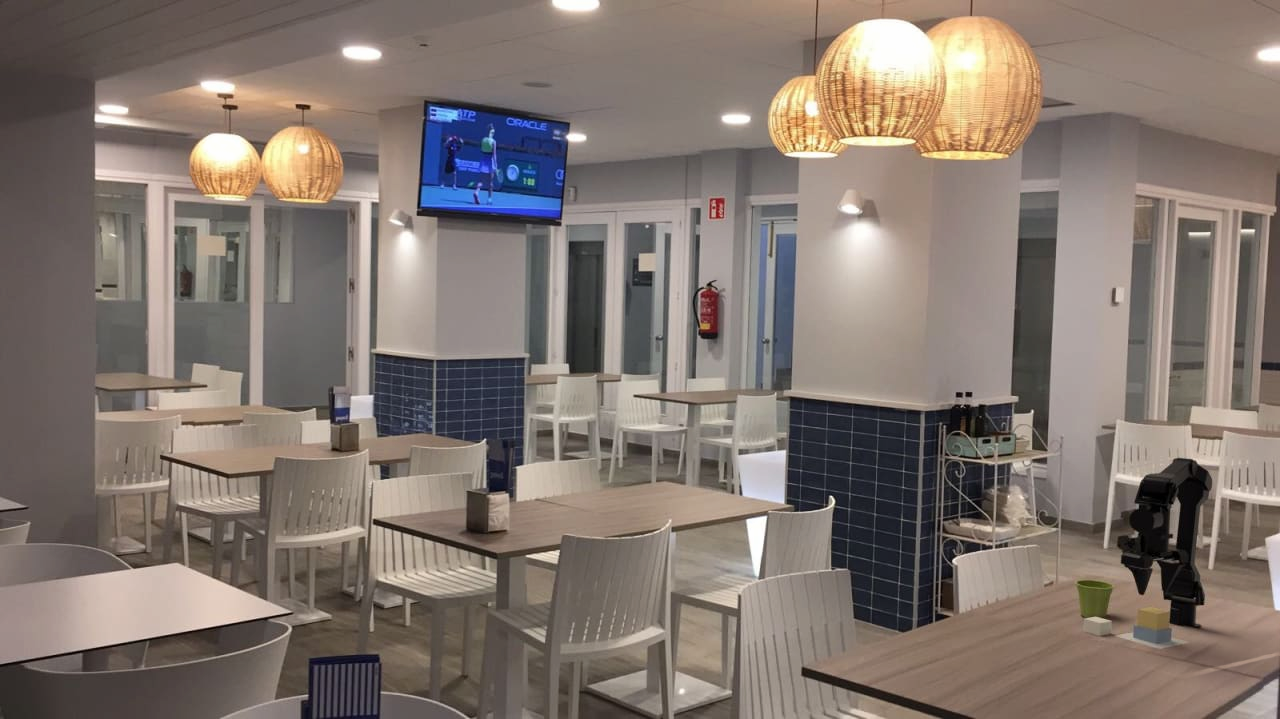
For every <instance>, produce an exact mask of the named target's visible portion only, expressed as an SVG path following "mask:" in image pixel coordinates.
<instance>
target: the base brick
mask: <svg viewBox="0 0 1280 719" xmlns="http://www.w3.org/2000/svg"><path fill="white" fill-rule="evenodd" d="M1172 631H1173V630H1172V628H1171V627H1169V628H1167V629H1162V630H1157V631H1156V630H1152V629H1148V628H1145V627H1141V626H1137V624H1133V630H1132V632H1133V638H1137V639H1140V640H1144V641H1147V642H1151V643H1154V644H1158V643H1163V642H1168V641H1171V637H1172Z"/></svg>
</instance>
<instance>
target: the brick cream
mask: <svg viewBox="0 0 1280 719" xmlns="http://www.w3.org/2000/svg"><path fill="white" fill-rule="evenodd" d="M1112 623H1113V621H1112V620H1109V619H1105V618H1104V617H1090V618H1085V617H1084V618H1083V632H1086V633H1088V634H1092V635H1095V636H1098V637H1100V636H1105V635H1106V636H1107V635H1111V634H1112V628H1113V627H1112Z"/></svg>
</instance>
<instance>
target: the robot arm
mask: <svg viewBox="0 0 1280 719" xmlns="http://www.w3.org/2000/svg"><path fill="white" fill-rule="evenodd" d="M1212 488H1213V478H1212V476H1211V474H1210V472H1209V470H1207V469H1205V468H1204V467H1202V466H1201V465H1199V464H1198V462H1197V461H1196V460H1194V459H1193V458H1186V457H1185V458H1184V457H1175V458H1173V459H1172V462H1171V463H1170V464H1169V465H1168V466H1166V468H1164V469H1163V470H1161V472H1157V473H1156V472H1155V473H1149V474H1146V475H1144V477H1143V478H1141V480H1140V482H1139V486H1138V488H1137V492H1136V496H1135V498H1134V504H1136V505H1138V508H1136V509H1134V510H1133V511H1132V512H1131V513H1130V516H1129V518H1128V519H1129V520H1128V521H1129V524H1130V527H1131V528H1132V529H1133V530H1134V531H1135V532H1138V533H1137V536H1135V537H1129V535H1127V534H1125V535H1119V536H1117V541H1116V547H1117V548H1118V549H1119V550H1121V553H1122V554H1120V565H1123V566H1124V567H1125V568H1127V569H1128V570H1129V571H1130V572H1131V573H1132V574H1131V575H1132V576H1133V578H1134V582H1135V586H1136V589H1137V593H1138V594H1139V596H1144V595H1145V594H1146V591H1147V589H1148V585H1149V583H1150V579H1151V577H1152V573H1153V570H1154V568H1152V567H1153V563H1154V562H1156V563H1157V564H1158V566H1159V568H1160V582H1161V591H1162V595H1163V600H1164V601H1170V607H1169V612H1170V616H1169V624H1172V625H1175V626H1179V627H1180V626H1181V627H1183V626H1185V627H1190V628H1193V629H1196V628H1201V627H1202V624H1200V623H1196V622H1197V621H1196V620H1197V607H1199V606H1205V601H1206V594H1205V590H1204V587H1203V585H1202V582H1201V574H1200V572H1199V570H1198V568H1197V566H1196V564H1195V563H1196V562H1195V561H1196V552H1197V551H1196V550H1197V541H1198V534H1199V533H1198V532H1199V524H1200V513H1201V507H1202V506H1203V505H1204V503H1205V502H1206V501H1207V500H1208V499H1209V495H1210V491H1211V490H1212ZM1176 498H1177V501H1178V502H1179V506H1180V507H1179V514H1178V515H1179V516H1178V522H1177V532H1176V542H1175V543H1176V544H1175V547H1172V546H1170V545H1169V544H1170V539H1174V533H1170V528H1171V526H1170V525H1171V509H1172V505H1174V504H1175V503H1176V502H1175V501H1176Z"/></svg>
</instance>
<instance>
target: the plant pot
mask: <svg viewBox="0 0 1280 719" xmlns="http://www.w3.org/2000/svg"><path fill="white" fill-rule="evenodd" d="M1075 585H1076V590H1077V592H1078V601H1079V610H1080V616H1083V617H1084V619H1085V618H1091V617H1099V618H1104V617H1107V614H1108V609H1109V604H1110V598H1111V595H1112V592H1113V589H1114V588H1115V585H1114V584H1113V583H1110V582H1107V581H1101V580H1096V579H1095V580H1094V579H1078V580H1076V581H1075Z"/></svg>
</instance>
